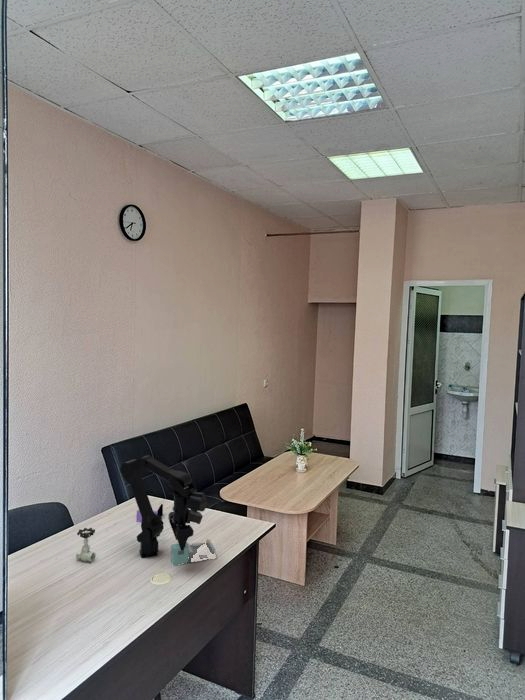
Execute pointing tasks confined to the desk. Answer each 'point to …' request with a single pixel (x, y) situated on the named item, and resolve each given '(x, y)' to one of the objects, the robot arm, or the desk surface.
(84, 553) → the valve
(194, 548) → the plate
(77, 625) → the desk surface
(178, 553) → the block
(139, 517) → the toy room diorama
